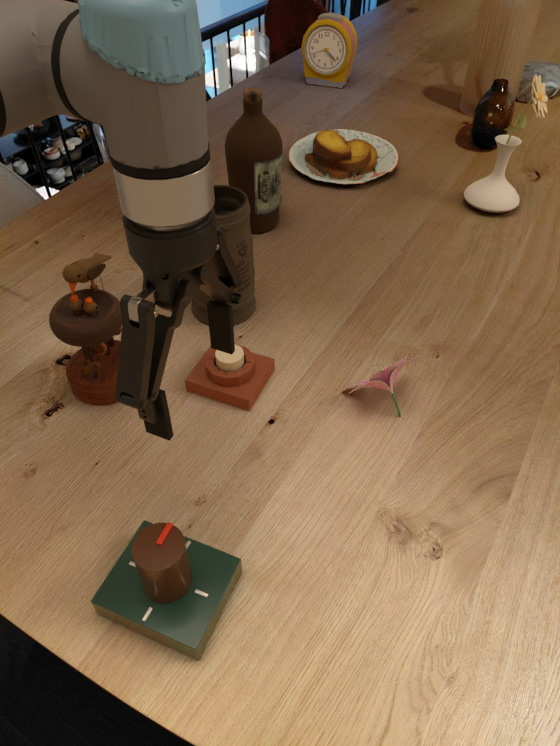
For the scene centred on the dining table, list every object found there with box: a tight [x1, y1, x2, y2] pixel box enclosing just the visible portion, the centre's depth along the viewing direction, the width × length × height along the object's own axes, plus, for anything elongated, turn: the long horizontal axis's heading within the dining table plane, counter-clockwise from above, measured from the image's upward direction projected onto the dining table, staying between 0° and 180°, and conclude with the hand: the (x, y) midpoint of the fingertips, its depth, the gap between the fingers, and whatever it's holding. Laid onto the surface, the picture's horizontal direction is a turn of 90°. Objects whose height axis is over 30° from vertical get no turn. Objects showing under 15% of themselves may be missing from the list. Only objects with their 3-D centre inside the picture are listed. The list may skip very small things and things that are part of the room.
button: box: [215, 343, 244, 372], centre depth 80 cm, size 4×4×2 cm
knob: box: [131, 521, 192, 603], centre depth 56 cm, size 5×5×7 cm
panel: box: [90, 519, 243, 662], centre depth 60 cm, size 12×10×3 cm
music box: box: [48, 252, 122, 407], centre depth 76 cm, size 15×11×20 cm
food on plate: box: [287, 128, 400, 186], centre depth 131 cm, size 25×25×7 cm
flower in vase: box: [463, 74, 549, 214], centre depth 112 cm, size 13×11×25 cm
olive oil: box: [224, 87, 284, 234], centre depth 106 cm, size 11×11×25 cm
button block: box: [184, 343, 276, 412], centre depth 82 cm, size 10×9×4 cm
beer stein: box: [190, 184, 257, 326], centre depth 89 cm, size 15×11×20 cm
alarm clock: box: [301, 12, 358, 82], centre depth 166 cm, size 15×8×18 cm, turn 72°
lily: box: [341, 351, 422, 418], centre depth 78 cm, size 12×12×10 cm
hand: (193, 388), depth 61 cm, fingers open, 13 cm apart
